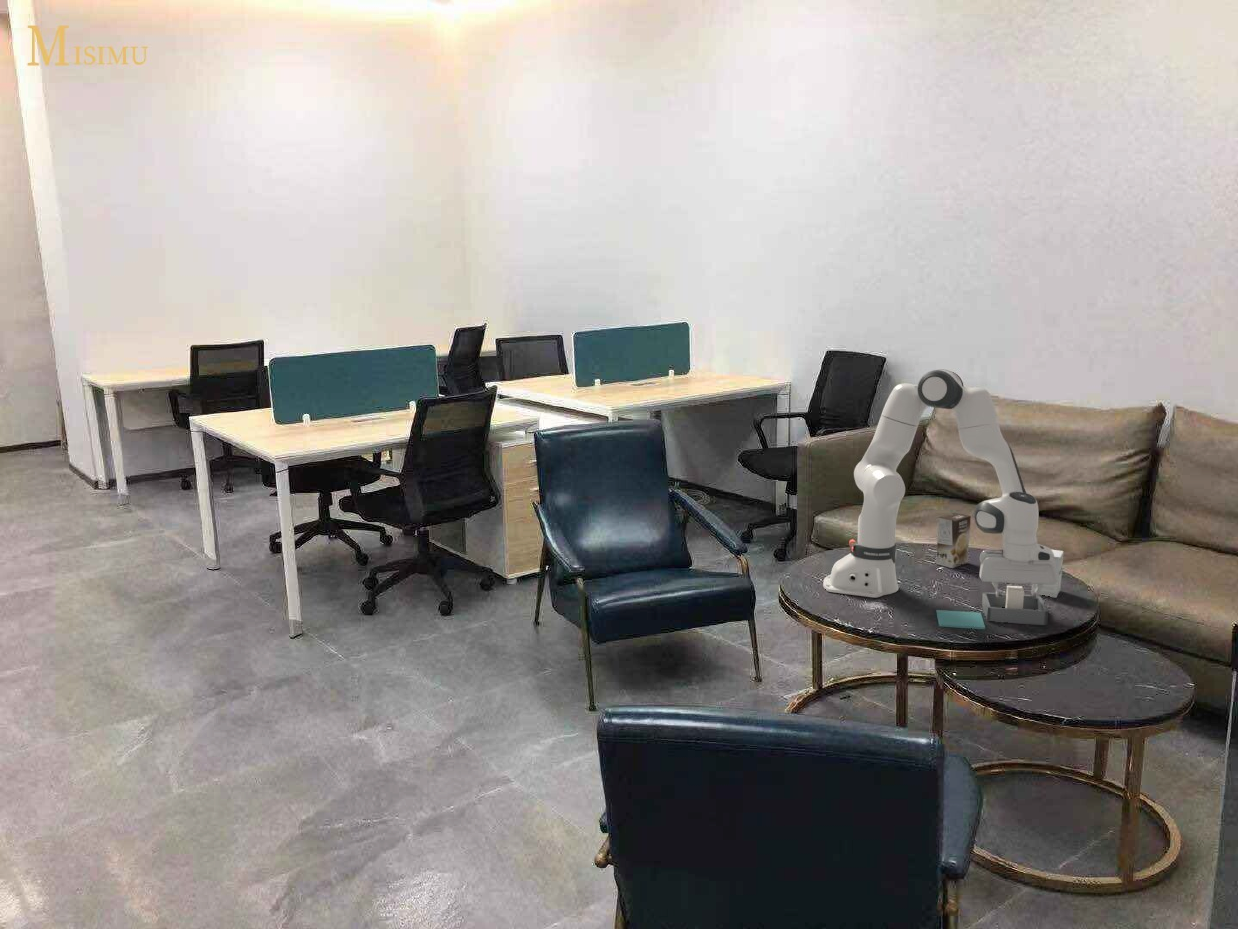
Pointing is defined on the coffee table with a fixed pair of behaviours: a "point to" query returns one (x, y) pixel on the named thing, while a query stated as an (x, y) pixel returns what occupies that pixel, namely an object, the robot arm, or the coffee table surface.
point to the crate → (1014, 610)
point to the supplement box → (1054, 589)
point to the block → (1014, 597)
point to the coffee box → (953, 540)
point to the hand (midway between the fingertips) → (1016, 597)
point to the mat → (960, 619)
